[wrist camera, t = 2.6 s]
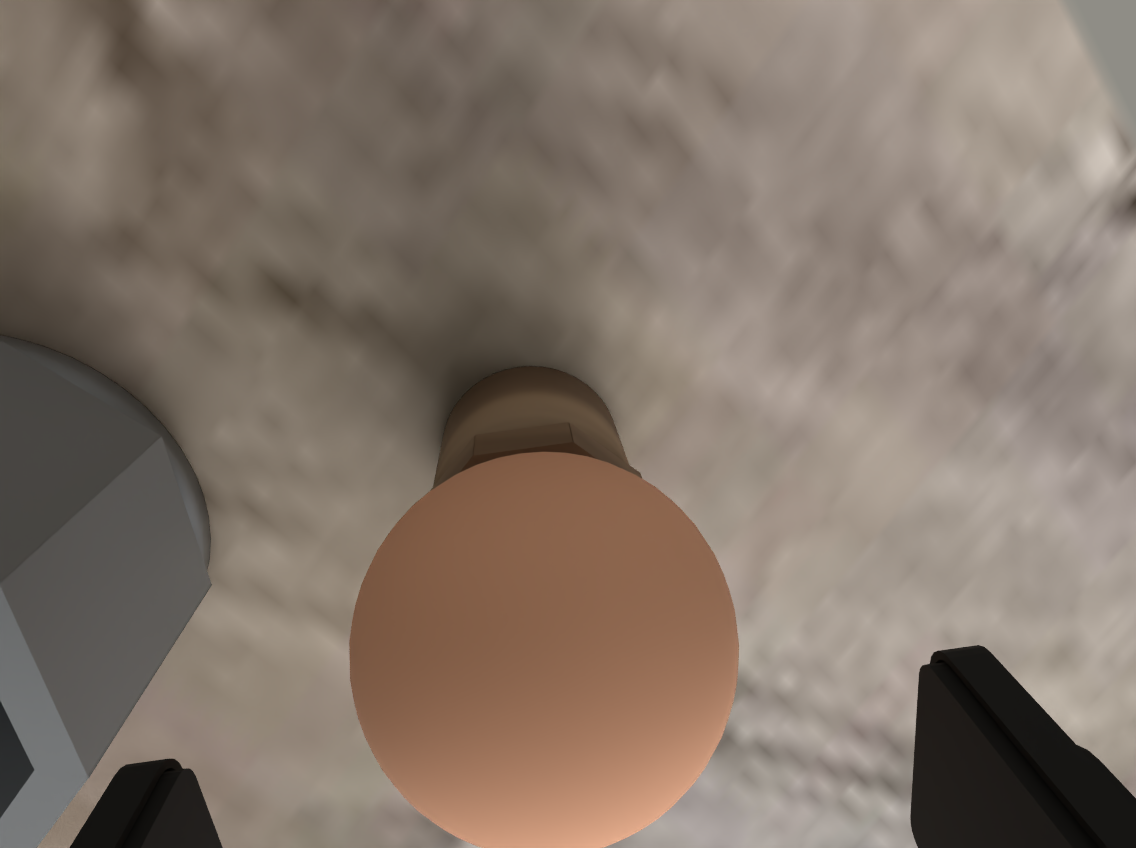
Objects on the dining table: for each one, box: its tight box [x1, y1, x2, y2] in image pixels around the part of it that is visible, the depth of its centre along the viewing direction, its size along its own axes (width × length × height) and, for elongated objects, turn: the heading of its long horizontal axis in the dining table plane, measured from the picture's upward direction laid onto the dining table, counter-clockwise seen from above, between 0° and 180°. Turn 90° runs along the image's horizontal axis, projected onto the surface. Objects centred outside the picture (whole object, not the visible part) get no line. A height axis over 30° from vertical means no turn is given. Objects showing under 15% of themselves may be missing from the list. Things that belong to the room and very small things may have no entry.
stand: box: [430, 366, 642, 491], centre depth 17 cm, size 4×4×5 cm
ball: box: [349, 452, 739, 848], centre depth 12 cm, size 6×6×6 cm
